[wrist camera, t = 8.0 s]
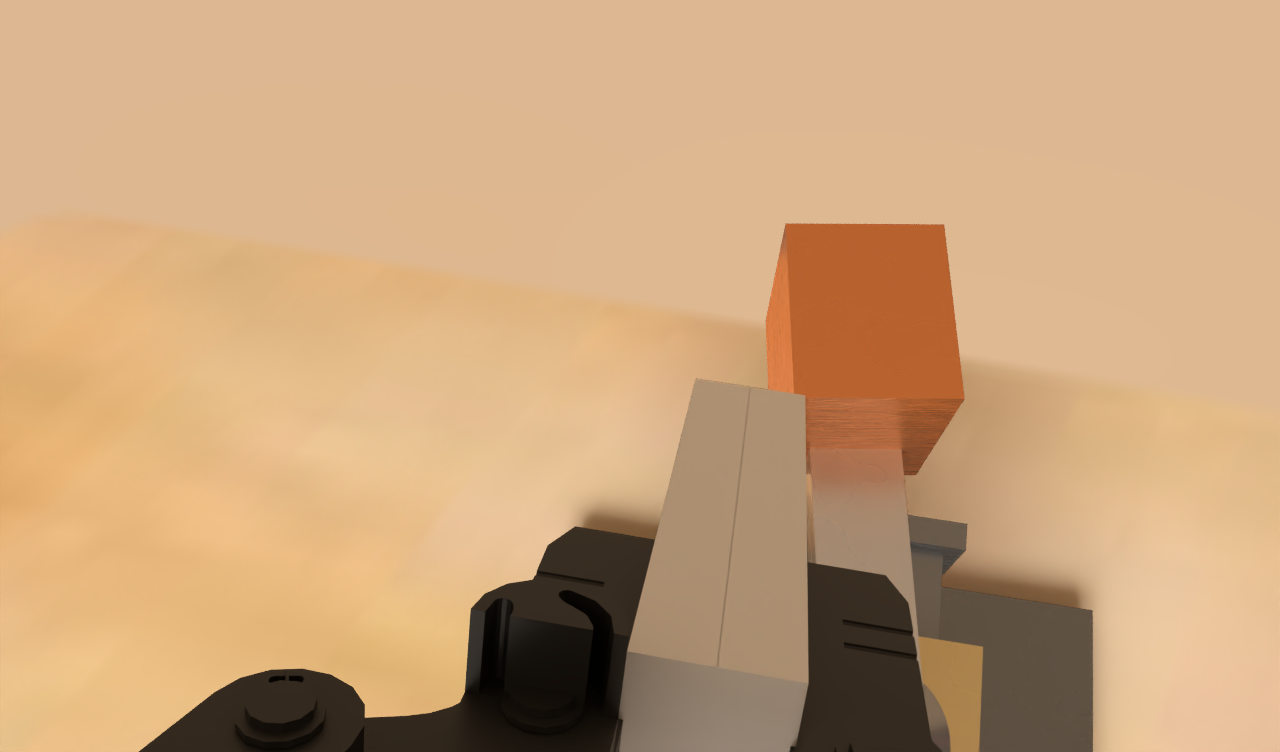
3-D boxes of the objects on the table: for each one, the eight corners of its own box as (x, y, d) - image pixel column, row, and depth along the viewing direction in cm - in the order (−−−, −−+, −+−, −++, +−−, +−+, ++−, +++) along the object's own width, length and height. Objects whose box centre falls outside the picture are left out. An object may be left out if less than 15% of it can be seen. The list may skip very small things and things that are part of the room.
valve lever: (945, 825, 21) (1012, 810, 17) (783, 824, 21) (814, 808, 17) (898, 327, 25) (944, 224, 22) (764, 326, 25) (785, 223, 22)
